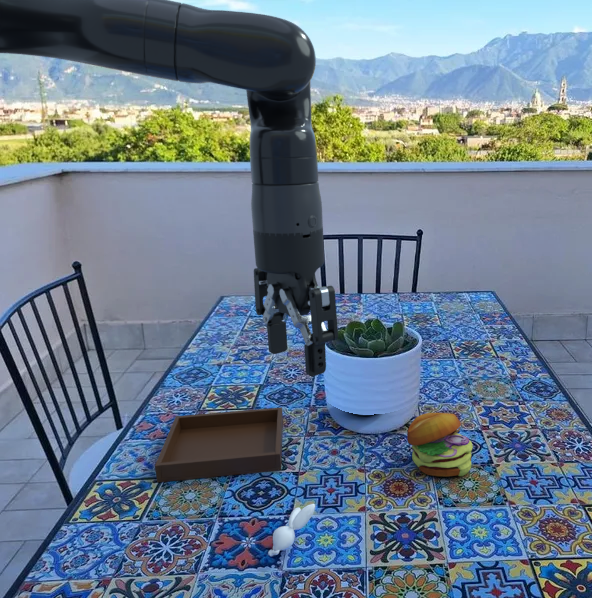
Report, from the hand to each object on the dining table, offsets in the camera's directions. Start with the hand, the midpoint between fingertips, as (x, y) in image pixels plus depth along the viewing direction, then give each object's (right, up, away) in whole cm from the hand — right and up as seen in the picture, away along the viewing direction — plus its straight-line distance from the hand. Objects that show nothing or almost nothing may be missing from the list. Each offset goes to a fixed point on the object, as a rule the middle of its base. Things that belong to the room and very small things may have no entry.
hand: (296, 362), depth 66 cm
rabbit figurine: (-2, -26, +11) cm, 28 cm away
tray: (-18, -19, +34) cm, 43 cm away
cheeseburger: (+19, -20, +29) cm, 40 cm away
